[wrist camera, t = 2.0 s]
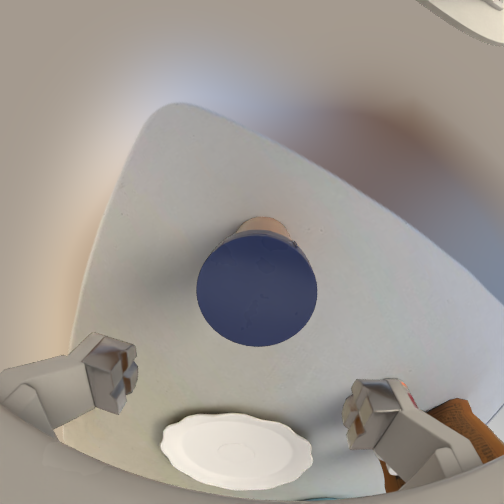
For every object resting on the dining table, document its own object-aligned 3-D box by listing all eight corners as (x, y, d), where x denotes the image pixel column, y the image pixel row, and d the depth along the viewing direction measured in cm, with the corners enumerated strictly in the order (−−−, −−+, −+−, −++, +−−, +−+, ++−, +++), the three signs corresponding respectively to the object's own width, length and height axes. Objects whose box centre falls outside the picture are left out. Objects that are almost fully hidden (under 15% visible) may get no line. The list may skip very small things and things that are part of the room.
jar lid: (249, 204, 15) (247, 207, 13) (336, 275, 15) (342, 286, 14) (182, 289, 16) (174, 301, 15) (265, 348, 17) (264, 364, 15)
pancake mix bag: (358, 432, 30) (395, 610, 3) (476, 377, 28) (564, 508, 1) (363, 454, 32) (393, 607, 5) (471, 404, 29) (540, 526, 2)
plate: (192, 481, 36) (190, 488, 34) (140, 404, 31) (136, 412, 29) (315, 477, 34) (315, 485, 32) (305, 396, 29) (306, 406, 27)
